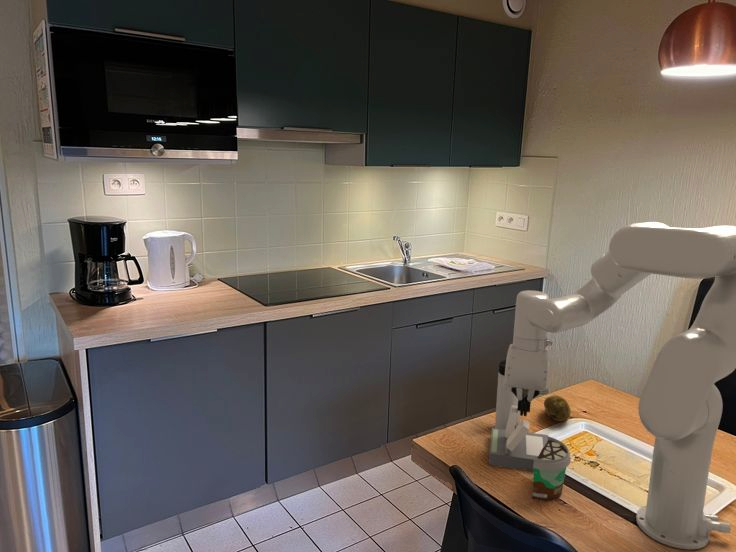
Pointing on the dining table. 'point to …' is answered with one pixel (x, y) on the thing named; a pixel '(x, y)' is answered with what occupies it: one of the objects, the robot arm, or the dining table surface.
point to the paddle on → (511, 422)
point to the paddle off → (517, 436)
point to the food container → (550, 470)
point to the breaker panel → (516, 450)
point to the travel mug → (504, 401)
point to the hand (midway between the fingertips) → (523, 413)
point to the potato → (557, 408)
